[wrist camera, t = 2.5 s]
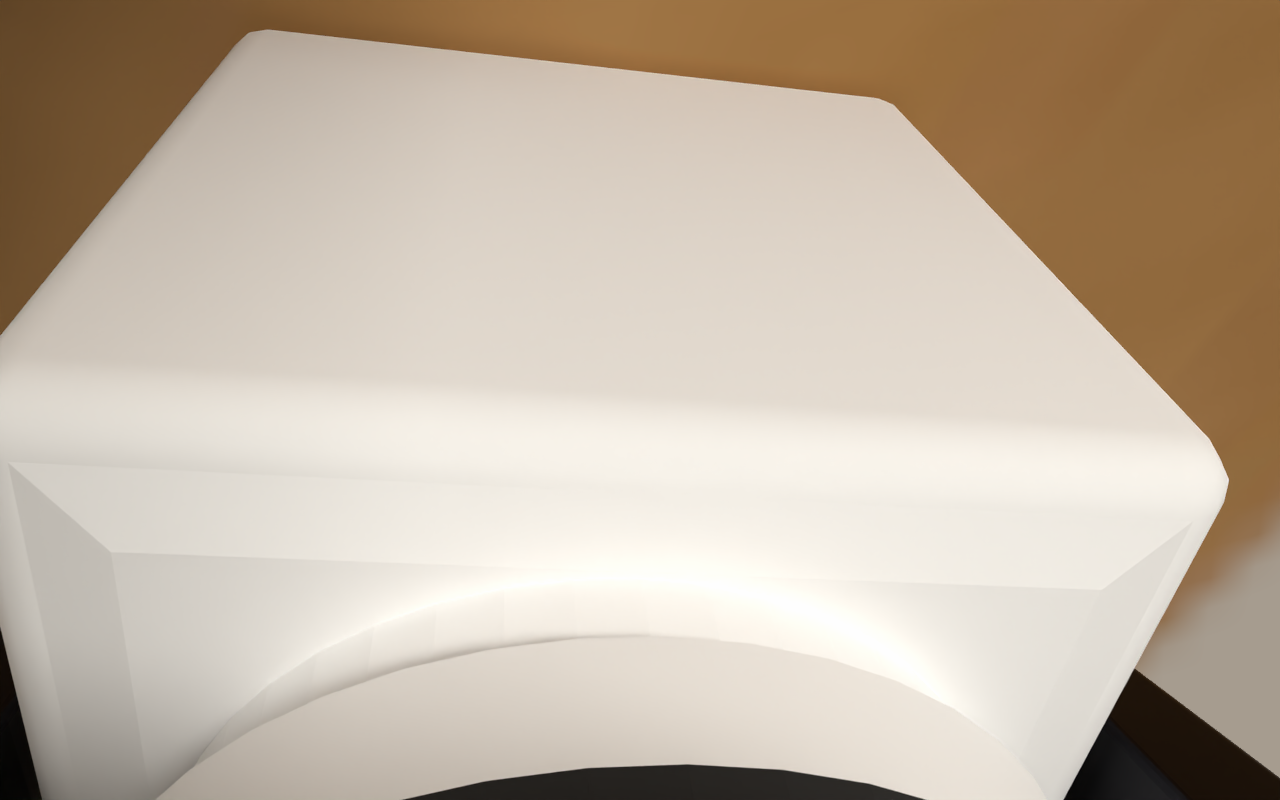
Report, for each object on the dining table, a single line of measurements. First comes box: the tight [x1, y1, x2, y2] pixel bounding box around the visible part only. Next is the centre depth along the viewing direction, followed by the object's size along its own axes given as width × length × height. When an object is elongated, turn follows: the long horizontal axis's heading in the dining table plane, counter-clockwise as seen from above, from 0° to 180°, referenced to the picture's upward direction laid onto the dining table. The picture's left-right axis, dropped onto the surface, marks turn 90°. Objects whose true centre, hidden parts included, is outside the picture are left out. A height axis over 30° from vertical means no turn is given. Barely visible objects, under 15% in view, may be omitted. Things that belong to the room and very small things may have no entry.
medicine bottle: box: [0, 30, 1229, 800], centre depth 8 cm, size 7×7×12 cm
